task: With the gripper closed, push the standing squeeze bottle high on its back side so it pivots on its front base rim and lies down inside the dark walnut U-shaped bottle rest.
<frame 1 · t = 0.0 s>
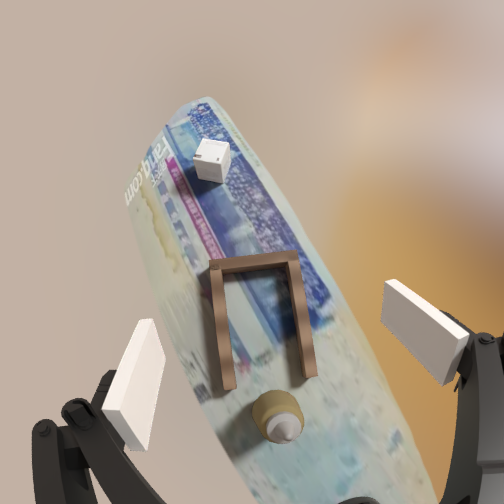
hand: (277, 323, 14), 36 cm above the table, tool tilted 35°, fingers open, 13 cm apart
skincare box: (214, 171, 60), on the table
bottle rest: (261, 323, 49), on the table
squeeze bottle: (273, 407, 44), on the table
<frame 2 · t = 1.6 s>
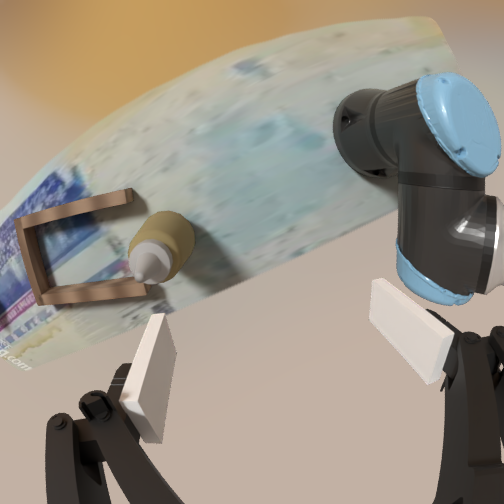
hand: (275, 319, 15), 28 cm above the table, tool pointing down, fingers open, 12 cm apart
bottle rest: (82, 248, 40), on the table
squeeze bottle: (171, 233, 41), on the table
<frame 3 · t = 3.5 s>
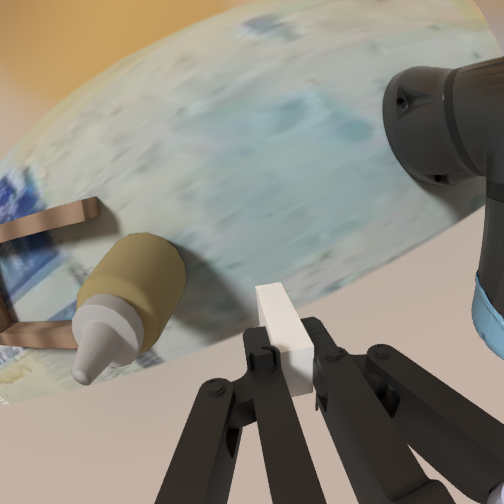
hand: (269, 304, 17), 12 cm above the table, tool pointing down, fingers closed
bottle rest: (41, 278, 27), on the table
squeeze bottle: (153, 261, 28), on the table
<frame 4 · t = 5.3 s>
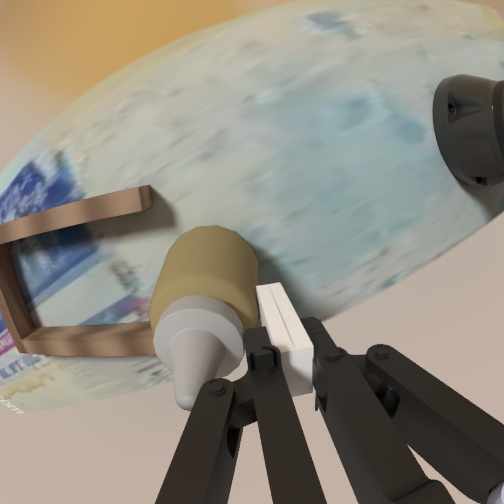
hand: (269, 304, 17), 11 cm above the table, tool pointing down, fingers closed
bottle rest: (73, 278, 26), on the table
squeeze bottle: (213, 258, 27), on the table, touching gripper
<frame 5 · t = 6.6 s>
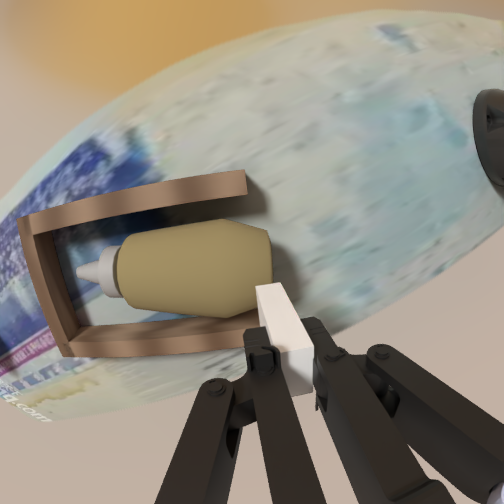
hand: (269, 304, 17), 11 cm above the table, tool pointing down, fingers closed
bottle rest: (141, 269, 26), on the table
squeeze bottle: (273, 266, 23), point 4 cm above the table
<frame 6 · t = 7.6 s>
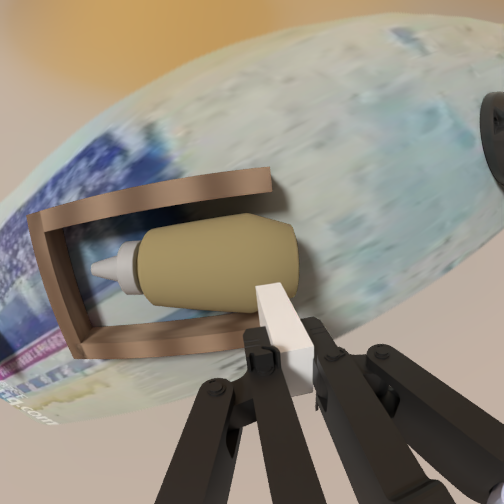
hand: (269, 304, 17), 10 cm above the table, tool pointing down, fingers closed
bottle rest: (159, 267, 26), on the table
squeeze bottle: (296, 260, 23), point 4 cm above the table
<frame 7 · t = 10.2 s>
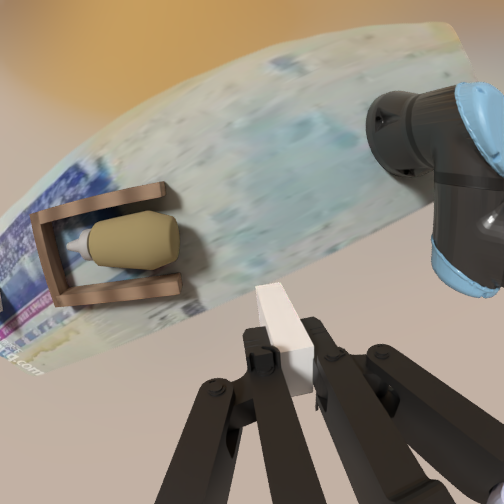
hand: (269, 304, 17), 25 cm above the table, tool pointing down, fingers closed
bottle rest: (107, 245, 39), on the table
squeeze bottle: (177, 238, 36), point 4 cm above the table
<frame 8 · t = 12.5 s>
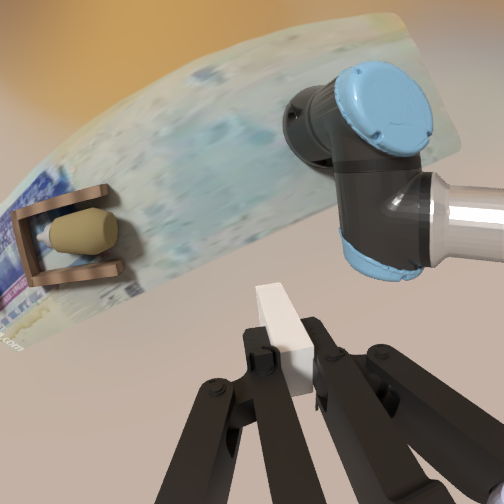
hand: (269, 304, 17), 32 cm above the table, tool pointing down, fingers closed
bottle rest: (67, 236, 45), on the table
squeeze bottle: (112, 229, 41), point 4 cm above the table
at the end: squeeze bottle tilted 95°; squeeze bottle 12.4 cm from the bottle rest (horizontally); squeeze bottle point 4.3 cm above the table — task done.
